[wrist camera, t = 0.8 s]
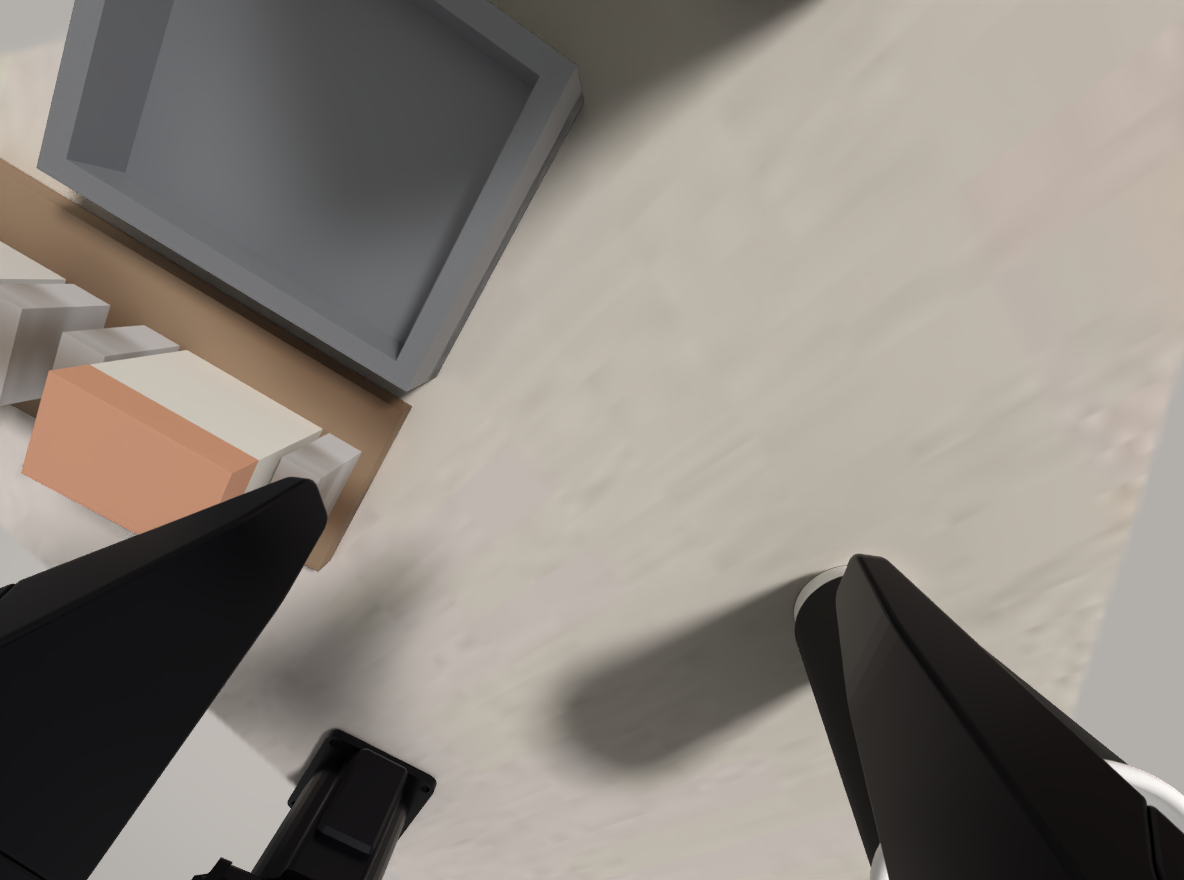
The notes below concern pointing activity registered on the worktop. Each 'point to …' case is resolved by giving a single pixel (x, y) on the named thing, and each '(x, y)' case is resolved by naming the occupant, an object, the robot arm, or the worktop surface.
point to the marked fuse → (157, 438)
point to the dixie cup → (828, 686)
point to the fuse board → (177, 341)
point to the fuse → (24, 269)
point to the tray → (318, 152)
